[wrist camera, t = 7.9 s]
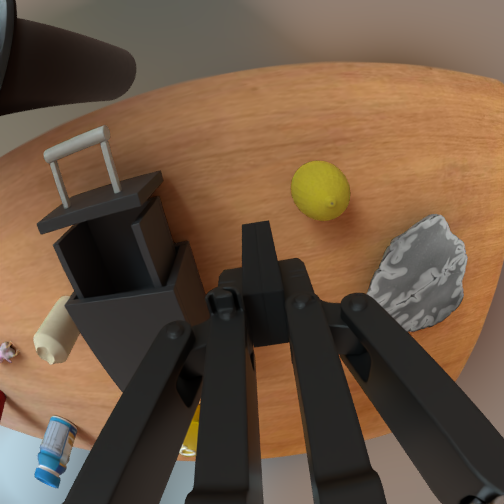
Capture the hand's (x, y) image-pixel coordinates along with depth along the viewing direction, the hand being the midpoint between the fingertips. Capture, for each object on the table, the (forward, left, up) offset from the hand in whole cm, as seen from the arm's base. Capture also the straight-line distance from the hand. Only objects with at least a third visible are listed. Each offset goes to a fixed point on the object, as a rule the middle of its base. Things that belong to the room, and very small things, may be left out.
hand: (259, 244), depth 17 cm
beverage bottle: (+50, -60, -16) cm, 80 cm away
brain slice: (+17, +20, -16) cm, 31 cm away
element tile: (+47, -21, -16) cm, 54 cm away
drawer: (+1, -15, -15) cm, 21 cm away
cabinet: (+13, -15, -16) cm, 25 cm away
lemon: (+1, +6, -16) cm, 17 cm away
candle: (+13, -30, -16) cm, 36 cm away
